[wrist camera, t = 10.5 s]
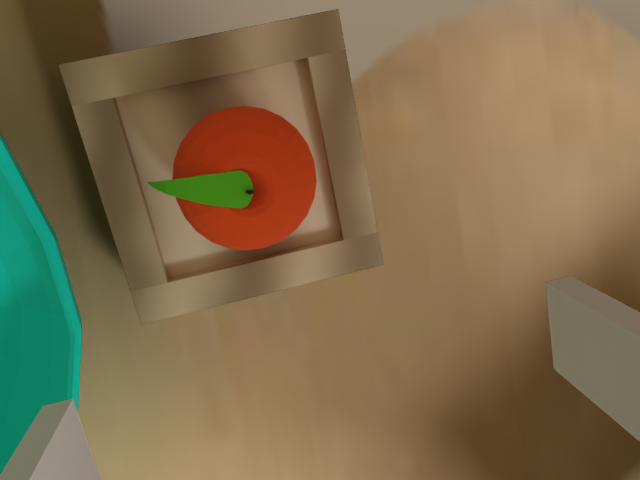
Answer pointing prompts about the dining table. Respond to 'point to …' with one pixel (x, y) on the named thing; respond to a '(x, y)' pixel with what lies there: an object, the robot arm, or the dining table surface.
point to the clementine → (243, 178)
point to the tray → (186, 111)
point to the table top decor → (32, 312)
